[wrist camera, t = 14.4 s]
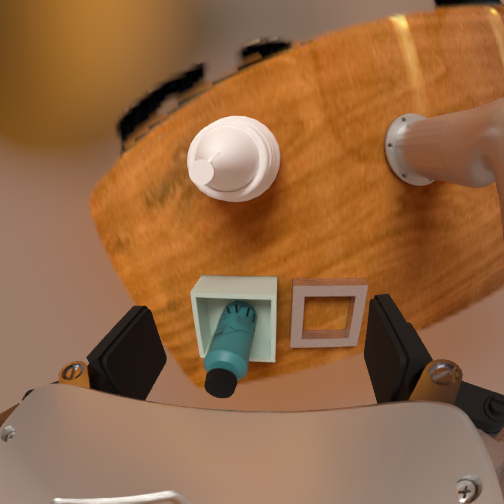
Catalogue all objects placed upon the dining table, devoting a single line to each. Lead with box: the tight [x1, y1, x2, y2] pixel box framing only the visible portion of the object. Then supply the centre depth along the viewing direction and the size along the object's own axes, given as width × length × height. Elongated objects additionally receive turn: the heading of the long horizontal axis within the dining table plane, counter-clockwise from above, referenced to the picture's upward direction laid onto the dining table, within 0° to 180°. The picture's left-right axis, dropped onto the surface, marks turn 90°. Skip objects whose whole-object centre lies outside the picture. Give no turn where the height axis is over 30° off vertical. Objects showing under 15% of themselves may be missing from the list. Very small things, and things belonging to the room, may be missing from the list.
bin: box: [190, 275, 277, 362], centre depth 48 cm, size 14×14×7 cm
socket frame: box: [290, 278, 368, 348], centre depth 48 cm, size 13×13×3 cm
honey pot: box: [187, 116, 280, 202], centre depth 34 cm, size 13×13×18 cm
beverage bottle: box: [204, 301, 258, 398], centre depth 41 cm, size 6×7×20 cm
